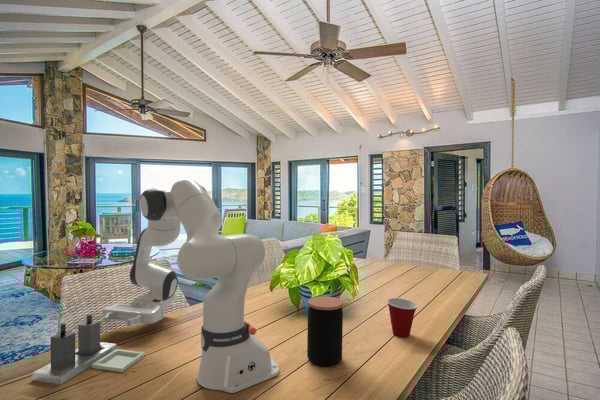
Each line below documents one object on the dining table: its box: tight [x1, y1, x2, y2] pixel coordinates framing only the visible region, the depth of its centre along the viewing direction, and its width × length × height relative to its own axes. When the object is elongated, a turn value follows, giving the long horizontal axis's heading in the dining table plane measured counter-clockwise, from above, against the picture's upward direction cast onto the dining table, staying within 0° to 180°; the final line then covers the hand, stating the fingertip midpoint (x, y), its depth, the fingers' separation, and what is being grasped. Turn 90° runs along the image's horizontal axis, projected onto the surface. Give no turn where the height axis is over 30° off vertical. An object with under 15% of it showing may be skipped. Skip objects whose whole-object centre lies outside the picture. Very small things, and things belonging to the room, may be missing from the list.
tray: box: [91, 348, 146, 373], centre depth 103 cm, size 10×10×2 cm
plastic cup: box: [386, 297, 419, 339], centre depth 126 cm, size 11×11×12 cm
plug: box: [77, 313, 101, 357], centre depth 105 cm, size 4×4×13 cm
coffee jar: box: [306, 295, 344, 368], centre depth 107 cm, size 11×11×18 cm
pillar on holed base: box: [32, 322, 118, 385], centre depth 101 cm, size 20×9×14 cm, turn 168°
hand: (116, 321), depth 117 cm, fingers open, 8 cm apart
